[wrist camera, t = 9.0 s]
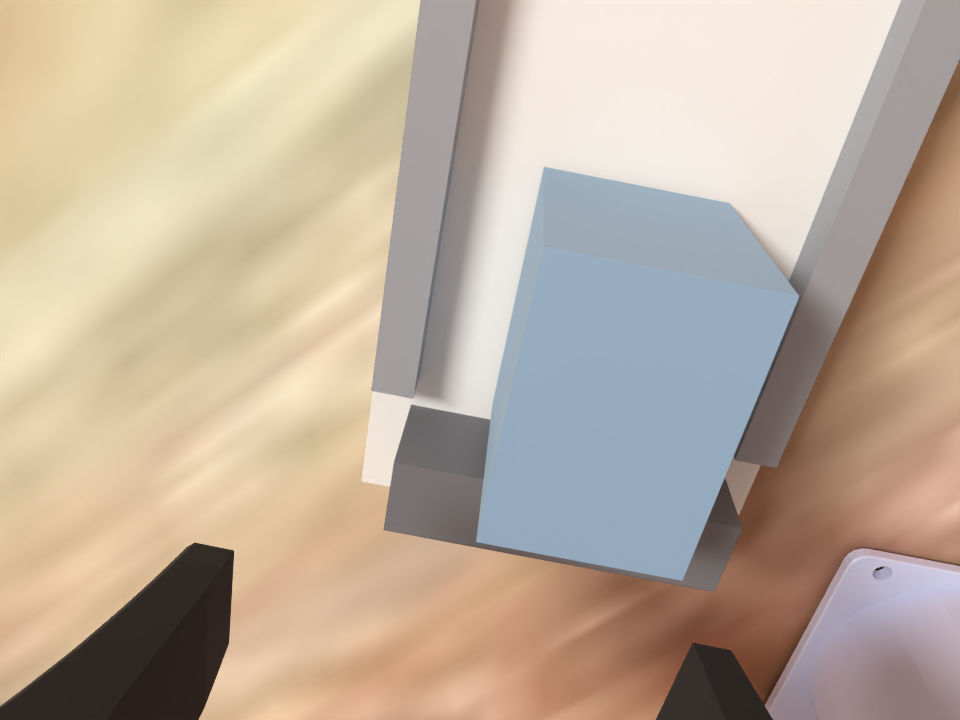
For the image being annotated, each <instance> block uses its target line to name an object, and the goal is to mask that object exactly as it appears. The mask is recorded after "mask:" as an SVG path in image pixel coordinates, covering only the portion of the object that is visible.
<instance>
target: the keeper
mask: <svg viewBox="0 0 960 720" xmlns="http://www.w3.org/2000/svg"><path fill="white" fill-rule="evenodd" d="M798 298H799V295H798V294H797V292H796V291H795V290H794V288H793V287H792V286H791V284H790V283H789V282H788V280H787V279H786V278H785V276H784V275H783V274H782V272H781V271H780V270H779V268H778V267H777V266H776V264H775V263H774V262H773V260H772V259H771V258H770V256H769V255H768V254H767V252H766V251H765V250H764V248H763V247H762V246H761V244H760V243H759V242H758V240H757V239H756V238H755V236H754V235H753V234H752V232H751V231H750V230H749V228H748V227H747V226H746V224H745V223H744V222H743V220H742V219H741V218H740V216H739V215H738V214H737V212H736V211H735V210H734V208H733V207H732V206H731V204H730V203H726V202H721V201H716V200H711V199H706V198H700V197H695V196H690V195H685V194H680V193H675V192H670V191H665V190H660V189H655V188H650V187H644V186H639V185H634V184H629V183H624V182H619V181H614V180H609V179H604V178H599V177H594V176H588V175H583V174H578V173H573V172H568V171H563V170H558V169H553V168H548V167H544V168H543V173H542V178H541V182H540V187H539V192H538V196H537V201H536V205H535V210H534V215H533V219H532V224H531V228H530V233H529V238H528V242H527V247H526V251H525V256H524V261H523V265H522V270H521V275H520V279H519V284H518V288H517V293H516V298H515V302H514V307H513V311H512V316H511V321H510V325H509V330H508V335H507V339H506V344H505V348H504V353H503V358H502V362H501V367H500V371H499V376H498V381H497V385H496V390H495V394H494V399H493V404H492V411H491V420H490V428H489V437H488V445H487V454H486V462H485V471H484V479H483V488H482V497H481V505H480V514H479V522H478V531H477V539H476V542H479V543H484V544H489V545H495V546H500V547H505V548H511V549H516V550H521V551H527V552H532V553H537V554H543V555H548V556H553V557H558V558H564V559H569V560H574V561H580V562H585V563H590V564H596V565H601V566H606V567H612V568H617V569H622V570H628V571H633V572H638V573H644V574H649V575H654V576H660V577H665V578H670V579H676V580H681V581H682V580H683V578H684V575H685V573H686V571H687V568H688V566H689V563H690V561H691V558H692V556H693V554H694V551H695V549H696V546H697V544H698V541H699V539H700V537H701V534H702V532H703V529H704V527H705V524H706V522H707V520H708V517H709V515H710V512H711V510H712V507H713V505H714V503H715V500H716V498H717V495H718V493H719V490H720V488H721V486H722V483H723V481H724V478H725V476H726V473H727V471H728V469H729V466H730V464H731V461H732V459H733V456H734V454H735V452H736V449H737V447H738V444H739V442H740V439H741V437H742V435H743V432H744V430H745V427H746V425H747V422H748V420H749V417H750V415H751V413H752V410H753V408H754V405H755V403H756V400H757V398H758V396H759V393H760V391H761V388H762V386H763V383H764V381H765V379H766V376H767V374H768V371H769V369H770V366H771V364H772V362H773V359H774V357H775V354H776V352H777V349H778V347H779V345H780V342H781V340H782V337H783V335H784V332H785V330H786V328H787V325H788V323H789V320H790V318H791V315H792V313H793V311H794V308H795V306H796V303H797V301H798Z"/></svg>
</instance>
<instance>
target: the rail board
mask: <svg viewBox="0 0 960 720" xmlns="http://www.w3.org/2000/svg"><path fill="white" fill-rule="evenodd" d="M959 60H960V0H421V1H420V9H419V17H418V25H417V33H416V41H415V49H414V57H413V65H412V73H411V81H410V89H409V97H408V105H407V113H406V121H405V129H404V137H403V144H402V152H401V160H400V168H399V176H398V184H397V192H396V200H395V208H394V216H393V224H392V232H391V240H390V248H389V256H388V264H387V272H386V279H385V287H384V295H383V303H382V311H381V319H380V327H379V335H378V343H377V351H376V359H375V367H374V375H373V383H372V391H373V394H372V402H371V410H370V418H369V426H368V433H367V441H366V449H365V457H364V465H363V473H362V482H368V483H373V484H378V485H384V486H389V487H390V491H389V498H388V504H387V511H386V518H385V524H384V530H386V531H391V532H397V533H402V534H407V535H413V536H418V537H423V538H429V539H434V540H439V541H445V542H450V543H455V544H461V545H466V546H471V547H477V548H482V549H487V550H493V551H498V552H503V553H509V554H514V555H519V556H525V557H530V558H535V559H541V560H546V561H551V562H557V563H562V564H567V565H573V566H578V567H583V568H589V569H594V570H599V571H605V572H610V573H615V574H621V575H626V576H631V577H637V578H642V579H647V580H653V581H658V582H663V583H669V584H674V585H679V586H685V587H690V588H695V589H701V590H706V591H711V592H715V589H716V587H717V585H718V583H719V580H720V578H721V576H722V574H723V571H724V569H725V567H726V565H727V562H728V560H729V558H730V556H731V553H732V551H733V549H734V547H735V544H736V542H737V540H738V538H739V535H740V533H741V531H742V529H743V528H742V525H741V522H740V519H739V514H740V512H741V510H742V507H743V505H744V503H745V500H746V498H747V496H748V493H749V491H750V489H751V487H752V484H753V482H754V480H755V477H756V475H757V473H758V470H759V468H760V466H761V465H763V466H768V467H773V468H777V466H778V463H779V461H780V459H781V457H782V454H783V452H784V450H785V448H786V446H787V443H788V441H789V439H790V437H791V434H792V432H793V430H794V428H795V425H796V423H797V421H798V419H799V417H800V414H801V412H802V410H803V408H804V405H805V403H806V401H807V399H808V396H809V394H810V392H811V390H812V388H813V385H814V383H815V381H816V379H817V376H818V374H819V372H820V370H821V367H822V365H823V363H824V361H825V359H826V356H827V354H828V352H829V350H830V347H831V345H832V343H833V341H834V339H835V336H836V334H837V332H838V330H839V327H840V325H841V323H842V321H843V318H844V316H845V314H846V312H847V310H848V307H849V305H850V303H851V301H852V298H853V296H854V294H855V292H856V289H857V287H858V285H859V283H860V281H861V278H862V276H863V274H864V272H865V269H866V267H867V265H868V263H869V260H870V258H871V256H872V254H873V252H874V249H875V247H876V245H877V243H878V240H879V238H880V236H881V234H882V232H883V229H884V227H885V225H886V223H887V220H888V218H889V216H890V214H891V211H892V209H893V207H894V205H895V203H896V200H897V198H898V196H899V194H900V191H901V189H902V187H903V185H904V182H905V180H906V178H907V176H908V174H909V171H910V169H911V167H912V165H913V162H914V160H915V158H916V156H917V154H918V151H919V149H920V147H921V145H922V142H923V140H924V138H925V136H926V133H927V131H928V129H929V127H930V125H931V122H932V120H933V118H934V116H935V113H936V111H937V109H938V107H939V104H940V102H941V100H942V98H943V96H944V93H945V91H946V89H947V87H948V84H949V82H950V80H951V78H952V75H953V73H954V71H955V69H956V67H957V64H958V62H959ZM544 167H548V168H553V169H558V170H563V171H568V172H573V173H578V174H583V175H588V176H594V177H599V178H604V179H609V180H614V181H619V182H624V183H629V184H634V185H639V186H644V187H650V188H655V189H660V190H665V191H670V192H675V193H680V194H685V195H690V196H695V197H700V198H706V199H711V200H716V201H721V202H726V203H730V204H731V206H732V207H733V208H734V210H735V211H736V212H737V214H738V215H739V216H740V218H741V219H742V220H743V222H744V223H745V224H746V226H747V227H748V228H749V230H750V231H751V232H752V234H753V235H754V236H755V238H756V239H757V240H758V242H759V243H760V244H761V246H762V247H763V248H764V250H765V251H766V252H767V254H768V255H769V256H770V258H771V259H772V260H773V262H774V263H775V264H776V266H777V267H778V268H779V270H780V271H781V272H782V274H783V275H784V276H785V278H786V279H787V280H788V282H789V283H790V284H791V286H792V287H793V288H794V290H795V291H796V292H797V294H798V295H799V298H798V301H797V303H796V306H795V308H794V311H793V313H792V315H791V318H790V320H789V323H788V325H787V328H786V330H785V332H784V335H783V337H782V340H781V342H780V345H779V347H778V349H777V352H776V354H775V357H774V359H773V362H772V364H771V366H770V369H769V371H768V374H767V376H766V379H765V381H764V383H763V386H762V388H761V391H760V393H759V396H758V398H757V400H756V403H755V405H754V408H753V410H752V413H751V415H750V417H749V420H748V422H747V425H746V427H745V430H744V432H743V435H742V437H741V439H740V442H739V444H738V447H737V449H736V452H735V454H734V456H733V459H732V461H731V464H730V466H729V469H728V471H727V473H726V476H725V478H724V481H723V483H722V486H721V488H720V490H719V493H718V495H717V498H716V500H715V503H714V505H713V507H712V510H711V512H710V515H709V517H708V520H707V522H706V524H705V527H704V529H703V532H702V534H701V537H700V539H699V541H698V544H697V546H696V549H695V551H694V554H693V556H692V558H691V561H690V563H689V566H688V568H687V571H686V573H685V575H684V578H683V580H682V581H681V580H676V579H670V578H665V577H660V576H654V575H649V574H644V573H638V572H633V571H628V570H622V569H617V568H612V567H606V566H601V565H596V564H590V563H585V562H580V561H574V560H569V559H564V558H558V557H553V556H548V555H543V554H537V553H532V552H527V551H521V550H516V549H511V548H505V547H500V546H495V545H489V544H484V543H479V542H476V539H477V531H478V522H479V514H480V505H481V497H482V488H483V479H484V471H485V462H486V454H487V445H488V437H489V428H490V420H491V411H492V404H493V399H494V394H495V390H496V385H497V381H498V376H499V371H500V367H501V362H502V358H503V353H504V348H505V344H506V339H507V335H508V330H509V325H510V321H511V316H512V311H513V307H514V302H515V298H516V293H517V288H518V284H519V279H520V275H521V270H522V265H523V261H524V256H525V251H526V247H527V242H528V238H529V233H530V228H531V224H532V219H533V215H534V210H535V205H536V201H537V196H538V192H539V187H540V182H541V178H542V173H543V168H544Z"/></svg>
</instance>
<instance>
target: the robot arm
mask: <svg viewBox="0 0 960 720" xmlns="http://www.w3.org/2000/svg"><path fill="white" fill-rule="evenodd" d="M233 562H234V551H233V550H228V549H224V548H219V547H214V546H209V545H204V544H199V543H193V544H192V545H190V546H188V547H187V548H186V549H185V550H184V551H183V552H182V553H181V554H180V555H179V556H178V557H177V558H175V559H174V560H173V561H172V562H171V563H170V564H169V565H168V566H167V567H166V568H165V569H164V570H163V571H162V572H161V573H160V574H159V575H158V576H157V577H156V578H155V579H153V580H152V581H151V582H150V583H149V584H148V585H147V586H146V587H145V588H144V589H143V590H142V591H140V592H139V593H138V594H137V595H136V596H135V597H134V598H133V599H132V600H131V601H129V602H128V603H127V604H126V605H125V606H124V607H123V608H122V609H121V610H119V611H118V612H117V613H116V614H115V615H114V616H112V617H111V618H110V619H109V620H108V621H107V622H105V623H104V624H103V625H102V626H101V627H100V628H98V629H97V630H96V631H95V632H94V633H93V634H91V635H90V636H89V637H88V638H87V639H86V640H84V641H83V642H82V643H81V644H80V645H78V646H77V647H76V648H75V649H74V650H72V651H71V652H70V653H69V654H67V655H66V656H65V657H64V658H62V659H61V660H60V661H58V662H57V663H56V664H55V665H53V666H52V667H51V668H50V669H48V670H47V671H46V672H44V673H43V674H42V675H41V676H39V677H38V678H37V679H35V680H34V681H33V682H32V683H30V684H29V685H28V686H27V687H25V688H24V689H23V690H21V691H20V692H19V693H17V694H16V695H15V696H13V697H12V698H11V699H9V700H8V701H7V702H5V703H4V704H3V705H1V706H0V720H198V719H199V717H200V715H201V713H202V711H203V709H204V707H205V704H206V702H207V699H208V697H209V694H210V692H211V689H212V687H213V684H214V681H215V679H216V676H217V674H218V671H219V668H220V666H221V663H222V660H223V657H224V655H225V652H226V649H227V647H228V644H229V633H230V615H231V597H232V579H233ZM881 566H885V567H884V568H883V569H880V570H875V569H876V568H879V567H881ZM656 720H960V566H957V565H952V564H946V563H941V562H936V561H930V560H925V559H920V558H915V557H909V556H904V555H899V554H893V553H888V552H883V551H878V550H872V549H862V548H861V549H857V550H854V551H852V552H850V553H848V554H847V556H846V557H845V558H844V560H843V561H842V563H841V565H840V567H839V569H838V571H837V573H836V574H835V576H834V578H833V580H832V582H831V584H830V586H829V587H828V589H827V591H826V593H825V595H824V597H823V599H822V600H821V602H820V604H819V606H818V608H817V610H816V612H815V613H814V615H813V617H812V619H811V621H810V623H809V625H808V626H807V628H806V630H805V632H804V634H803V636H802V638H801V639H800V641H799V643H798V645H797V647H796V649H795V650H794V652H793V654H792V656H791V658H790V660H789V662H788V663H787V665H786V667H785V669H784V671H783V673H782V675H781V676H780V678H779V680H778V682H777V684H776V686H775V688H774V689H773V691H772V693H771V695H770V697H769V699H768V701H767V702H766V704H765V706H764V704H763V702H762V701H761V699H760V697H759V696H758V694H757V692H756V691H755V689H754V687H753V686H752V684H751V683H750V681H749V679H748V678H747V676H746V674H745V673H744V671H743V669H742V668H741V666H740V665H739V663H738V661H737V660H736V658H735V656H734V655H733V653H732V652H731V650H726V649H721V648H716V647H711V646H706V645H701V644H696V643H692V645H691V647H690V649H689V652H688V654H687V656H686V658H685V660H684V662H683V664H682V666H681V668H680V670H679V672H678V675H677V677H676V679H675V681H674V683H673V685H672V687H671V689H670V691H669V693H668V696H667V698H666V700H665V702H664V704H663V706H662V708H661V710H660V712H659V714H658V716H657V719H656Z"/></svg>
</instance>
